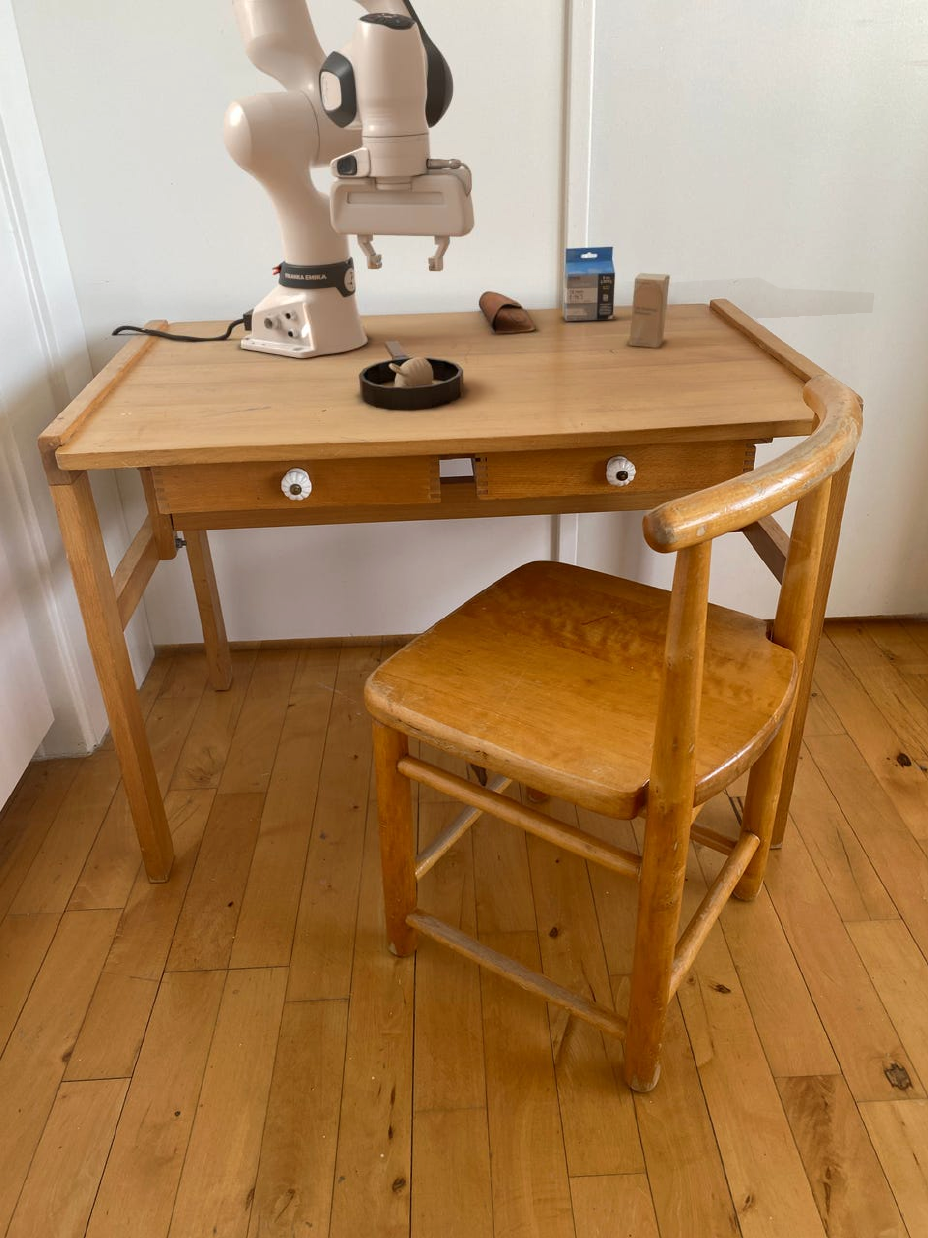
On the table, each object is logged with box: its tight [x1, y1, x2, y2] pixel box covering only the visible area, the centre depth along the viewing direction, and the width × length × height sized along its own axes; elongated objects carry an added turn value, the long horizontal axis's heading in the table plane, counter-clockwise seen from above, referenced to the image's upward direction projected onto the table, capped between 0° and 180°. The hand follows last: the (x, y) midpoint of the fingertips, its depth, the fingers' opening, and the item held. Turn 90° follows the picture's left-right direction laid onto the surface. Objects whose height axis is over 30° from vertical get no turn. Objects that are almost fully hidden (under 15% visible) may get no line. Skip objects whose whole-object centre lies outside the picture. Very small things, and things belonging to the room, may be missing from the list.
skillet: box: [358, 340, 465, 411], centre depth 142 cm, size 26×15×3 cm, turn 14°
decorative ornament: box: [389, 356, 435, 387], centre depth 137 cm, size 4×8×5 cm, turn 129°
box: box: [628, 272, 671, 349], centre depth 154 cm, size 5×4×11 cm
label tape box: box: [563, 246, 616, 322], centre depth 169 cm, size 9×4×12 cm, turn 90°
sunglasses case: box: [478, 290, 536, 335], centre depth 172 cm, size 18×7×7 cm
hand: (405, 269), depth 129 cm, fingers open, 8 cm apart
